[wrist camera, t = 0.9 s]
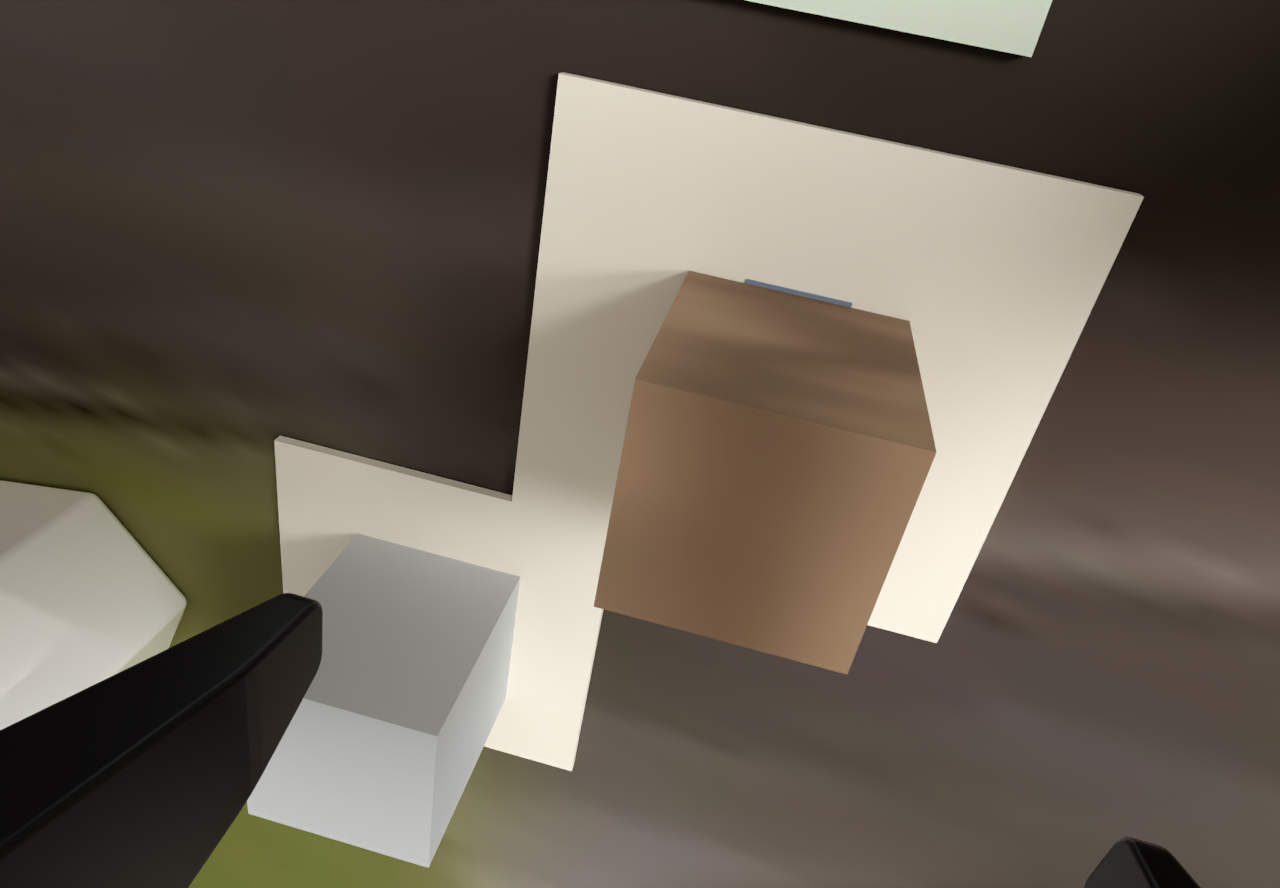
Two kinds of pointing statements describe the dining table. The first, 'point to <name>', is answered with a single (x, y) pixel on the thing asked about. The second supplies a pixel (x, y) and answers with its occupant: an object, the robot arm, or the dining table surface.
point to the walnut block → (766, 471)
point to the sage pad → (942, 19)
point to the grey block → (394, 699)
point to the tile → (470, 532)
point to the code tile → (807, 292)
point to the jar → (73, 598)
